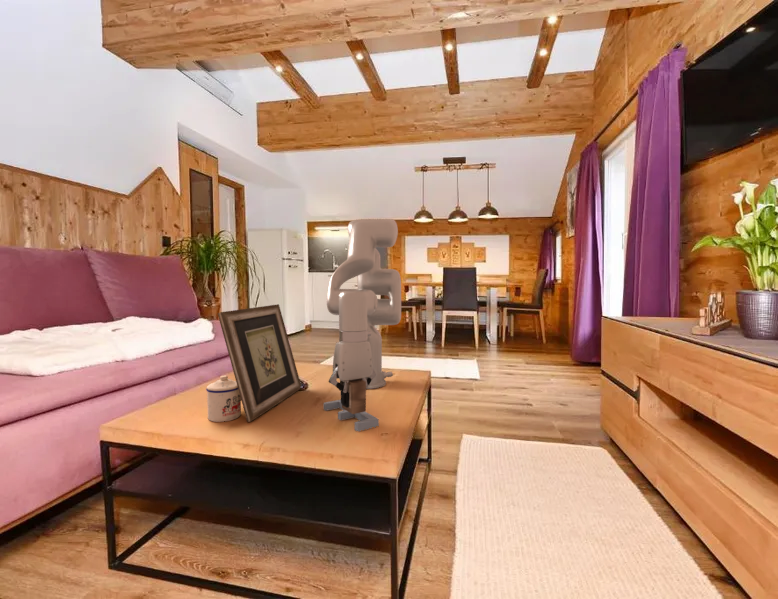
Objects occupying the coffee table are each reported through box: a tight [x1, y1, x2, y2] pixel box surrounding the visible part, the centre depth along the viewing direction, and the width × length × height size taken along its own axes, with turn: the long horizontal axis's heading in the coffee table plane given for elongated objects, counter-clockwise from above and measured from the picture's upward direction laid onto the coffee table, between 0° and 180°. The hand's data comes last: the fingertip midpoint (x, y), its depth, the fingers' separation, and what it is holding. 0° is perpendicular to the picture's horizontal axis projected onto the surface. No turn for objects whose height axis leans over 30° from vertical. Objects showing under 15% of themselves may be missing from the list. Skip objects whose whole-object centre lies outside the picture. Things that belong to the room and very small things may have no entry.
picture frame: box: [217, 304, 302, 423], centre depth 122 cm, size 33×10×30 cm, turn 168°
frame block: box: [342, 379, 367, 414], centre depth 105 cm, size 4×6×8 cm
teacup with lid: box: [205, 375, 242, 423], centre depth 111 cm, size 12×9×12 cm
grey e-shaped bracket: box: [323, 398, 380, 432], centre depth 110 cm, size 6×20×2 cm, turn 34°
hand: (353, 403), depth 105 cm, fingers closed on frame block, 4 cm apart
